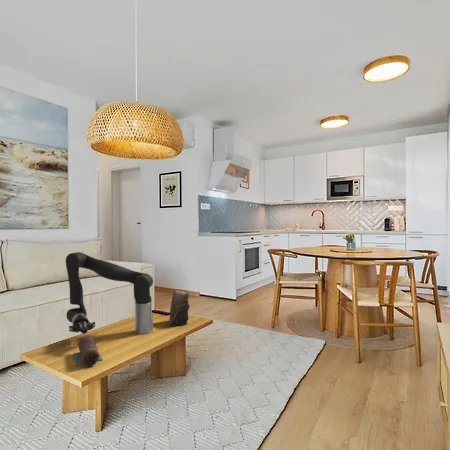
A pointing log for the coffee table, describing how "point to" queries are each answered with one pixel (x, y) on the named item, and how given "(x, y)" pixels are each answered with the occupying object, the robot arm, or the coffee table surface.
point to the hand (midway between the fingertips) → (84, 331)
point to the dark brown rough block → (179, 309)
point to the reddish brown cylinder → (88, 350)
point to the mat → (79, 360)
